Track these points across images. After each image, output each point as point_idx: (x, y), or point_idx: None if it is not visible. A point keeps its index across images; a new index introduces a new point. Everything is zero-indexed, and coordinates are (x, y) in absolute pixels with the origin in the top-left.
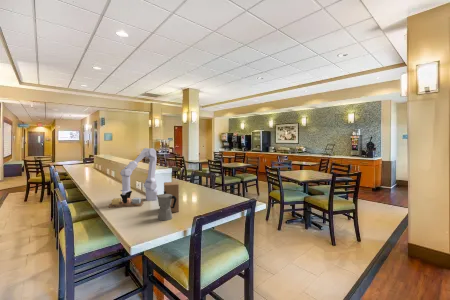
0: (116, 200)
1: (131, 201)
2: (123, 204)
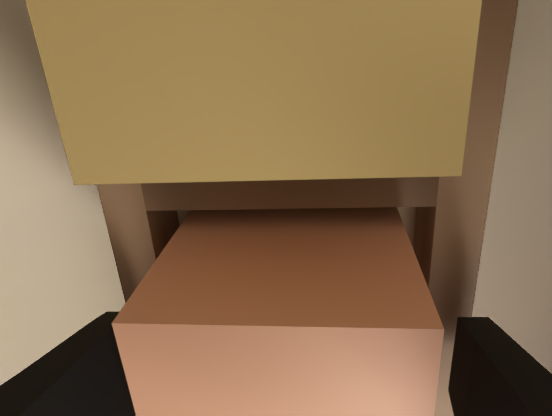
0: (57, 62)
1: (441, 412)
2: (127, 287)
